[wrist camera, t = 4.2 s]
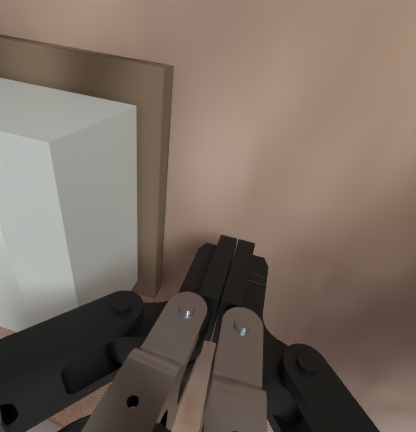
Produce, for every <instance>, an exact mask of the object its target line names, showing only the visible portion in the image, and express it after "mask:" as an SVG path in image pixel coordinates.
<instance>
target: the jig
mask: <svg viewBox="0 0 416 432" xmlns="http://www.w3.org/2000/svg"><path fill="white" fill-rule="evenodd" d="M0 78H4V79H9V80H14V81H19V82H23V83H28V84H33V85H38V86H43V87H48V88H53V89H58V90H62V91H67V92H72V93H77V94H82V95H87V96H92V97H97V98H101V99H106V100H111V101H116V102H121V103H126V104H131V105H136V120H137V258H138V281H137V282H136V284H135V285H134V287H133V288H132V290H131V291H133V292H136V293H139V294H142V295H146V296H149V297H152V298H155V297H156V295H157V293H158V291H159V290H160V288H161V277H162V259H163V241H164V224H165V206H166V188H167V171H168V153H169V135H170V117H171V100H172V82H173V66H171V65H165V64H159V63H154V62H148V61H143V60H137V59H132V58H126V57H121V56H115V55H110V54H104V53H98V52H93V51H87V50H82V49H76V48H71V47H65V46H60V45H54V44H49V43H43V42H37V41H32V40H26V39H21V38H15V37H10V36H4V35H0Z"/></svg>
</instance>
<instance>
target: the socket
mask: <svg viewBox="0 0 416 432" xmlns="http://www.w3.org/2000/svg"><path fill="white" fill-rule="evenodd" d="M137 281H138V258H137V120H136V105H131V104H126V103H121V102H116V101H111V100H106V99H101V98H97V97H92V96H87V95H82V94H77V93H72V92H67V91H62V90H58V89H53V88H48V87H43V86H38V85H33V84H28V83H23V82H19V81H14V80H9V79H4V78H0V327H3V328H6V329H9V330H12V331H15V332H19V331H21V330H24V329H26V328H29V327H31V326H33V325H36V324H38V323H41V322H43V321H46V320H48V319H51V318H53V317H55V316H58V315H60V314H63V313H65V312H68V311H70V310H72V309H75V308H77V307H80V306H82V305H85V304H87V303H89V302H92V301H94V300H97V299H99V298H102V297H104V296H106V295H109V294H111V293H114V292H117V291H123V290H127V291H131V290H132V288H133V287H134V285H135V284H136V282H137Z"/></svg>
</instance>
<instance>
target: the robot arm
mask: <svg viewBox="0 0 416 432" xmlns="http://www.w3.org/2000/svg"><path fill="white" fill-rule="evenodd" d="M236 243H237V239H236V238H232V237H228V236H225V235H221V236H220V239H219V242H218V244H217V245H213V244H209V243H206V244H204V245H203V246H202V247H201V248H199V249H198V252H197V254H196V256H195V259H194V260H193V262H192V265H191V267H190V269H189V271H188V273H187V275H186V278H185V280H184V282H183V284H182V286H181V288H180V290H179V292H178V293H177V294H175V295H174V296H172V297H171V298H170V299H169V300H168V301H165V302H159V303H143V301H142V299H141V297H140V296H139V295H138V294H136V293H135V292H132V291H127V290H123V291H117V292H114V293H111V294H109V295H106V296H104V297H102V298H99V299H97V300H94V301H92V302H89V303H87V304H85V305H82V306H80V307H77V308H75V309H72V310H70V311H68V312H65V313H63V314H60V315H58V316H55V317H53V318H51V319H48V320H46V321H43V322H41V323H38V324H36V325H33V326H31V327H29V328H26V329H24V330H21V331H19V332H16V333H14V334H12V335H9V336H7V337H4V338H2V339H0V432H26V431H27V430H29V429H30V428H32V427H34V426H36V425H38V424H39V423H41V422H43V421H44V420H46V419H48V418H49V417H51V416H53V415H55V414H56V413H58V412H60V411H61V410H63V409H65V408H67V407H68V406H70V405H72V404H73V403H75V402H77V401H79V400H80V399H82V398H84V397H85V396H87V395H89V394H90V393H92V392H94V391H96V390H97V389H99V388H101V387H102V386H104V385H106V384H108V383H109V382H111V381H112V383H111V384H110V386H109V387H108V389H107V391H106V392H105V394H104V395H103V397H102V399H101V400H100V402H99V403H98V405H97V407H96V408H95V410H94V412H93V413H92V415H88V416H86V417H83V418H80V419H78V420H76V421H74V422H72V423H70V424H69V425H67V426H65V427H64V428H62V429H61V430H59V431H58V432H171V431H172V428H173V425H174V421H175V418H176V414H177V411H178V409H179V406H180V403H181V401H182V398H183V396H184V393H185V391H186V388H187V386H188V383H189V380H190V378H191V375H192V373H193V370H194V368H195V365H196V363H197V360H198V357H199V355H200V353H201V350H202V347H203V344H204V340H207V341H210V340H211V337H212V333H213V330H214V326H215V323H216V326H215V330H214V335H213V339H212V342H214V343H216V347H215V352H214V356H213V360H212V364H211V370H210V375H209V381H208V387H207V392H206V398H205V404H204V409H203V415H202V420H201V425H200V430H199V432H267V419H268V421H269V423H270V425H271V427H272V429H273V431H274V432H380V431H379V430H378V429H377V427H376V426H375V425H374V423H373V422H372V421H371V419H370V418H369V417H368V415H367V414H366V413H365V411H364V410H363V409H362V408H361V406H360V405H359V404H358V402H357V401H356V400H355V398H354V397H353V396H352V394H351V393H350V392H349V390H348V389H347V388H346V386H345V385H344V384H343V382H342V381H341V380H340V379H339V377H338V376H337V375H336V373H335V372H334V371H333V369H332V368H331V367H330V365H329V364H328V363H327V361H326V360H325V359H324V357H323V356H322V355H321V354H320V353H319V352H318V351H317V350H315V349H314V348H312V347H310V346H308V345H305V344H299V343H298V344H292V345H290V346H287V345H286V344H284V343H283V342H281V341H279V340H278V339H276V338H275V337H274V336H273V335H271V334H270V332H269V331H268V330H267V329H266V327H265V325H264V322H263V307H264V298H265V290H266V282H267V274H268V266H267V263H266V261H265V258H263V257H259V256H255V255H253V251H254V246H255V243H252V242H248V241H244V240H240V239H239V240H238V243H237V247H236ZM235 247H236V250H235ZM234 252H235V254H234ZM233 256H234V257H233ZM232 260H233V261H232ZM217 316H218V317H217ZM216 319H217V321H216Z"/></svg>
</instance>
